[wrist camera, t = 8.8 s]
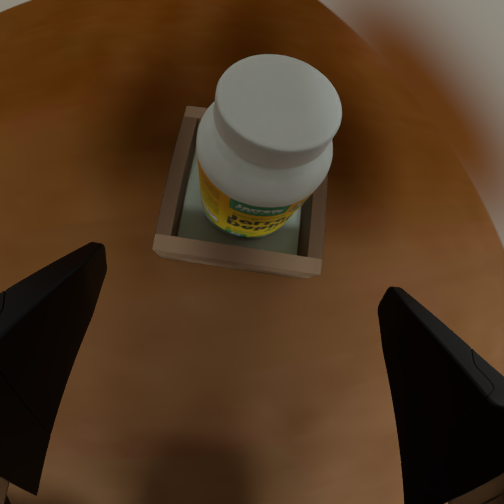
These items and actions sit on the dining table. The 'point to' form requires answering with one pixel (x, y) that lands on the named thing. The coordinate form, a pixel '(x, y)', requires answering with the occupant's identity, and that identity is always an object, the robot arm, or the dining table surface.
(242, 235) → the supplement bottle
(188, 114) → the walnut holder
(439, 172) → the dining table surface
